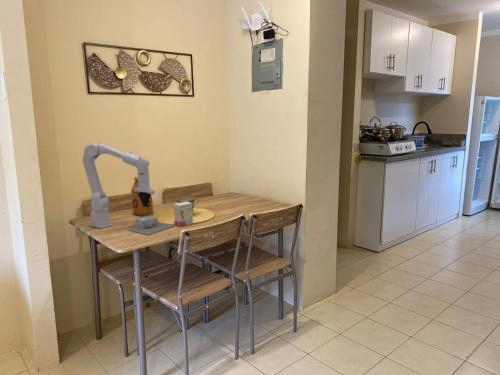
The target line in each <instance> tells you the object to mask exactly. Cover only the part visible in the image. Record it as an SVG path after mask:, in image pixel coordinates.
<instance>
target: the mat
mask: <svg viewBox="0 0 500 375" xmlns="http://www.w3.org/2000/svg"><path fill="white" fill-rule="evenodd" d="M175 227H176V225H175V224H174V225H173V224H170V223H169V224H168V223H164V222H159V221H158V225H157V226H154V227H150V228H147V229H144V228H140V227H137V226H134V227H131V228H128V229H127V231H128V232H132V233H136V234H139V235H140V234H141V235H145V236H151V235H153V234H156V233H160V232H162V231H163V232H164V231H165V230H169V229H172V228H175Z"/></svg>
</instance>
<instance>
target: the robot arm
mask: <svg viewBox="0 0 500 375" xmlns="http://www.w3.org/2000/svg"><path fill="white" fill-rule="evenodd" d="M105 154H107V155H110V156H112V157H116V158H119V159H121V161H122V162H123V163H124V164H128V165H129V166H132V167H135V168H136V169H137V177H138V188H134V192H140V194H138V196H139V198H140V199H141V202H142V205H143V207H146V206H148V201H149V198H150V196H151V197H152V195H156V192H155V191H156V190H153V189H152V188H151V186H150V171H149V166H150V160H149V159H148V158H147V157H142V156H141V155H136V154H134V153H133V152H131V151H126V152H123V151H121V150H118V149H116V148H114V147H112V146H109V145H108V144H105V143H101V142H94V143H88V144H87V145H86V146H85V147H84V148H83V157H82V165H83V168H84V171H85V173H86V174H85V175H86V178H87V182H88V184H89V187H90V191H91V197H90V199H91V203H90V206H91V208H92V210H91V211H90V223H91V224H89V226H90V227H93V228H97V229H103V228H106V227H110V226H113V225H114V223H110V215H109V207H108V205H110V198H108V196H107V194H106V192H105V191H103V187H102V183H101V181H100V178H99V174H98V170H97V167H96V163H95V161H96V160H97V159H98V157H99V156H101V155H105Z"/></svg>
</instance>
